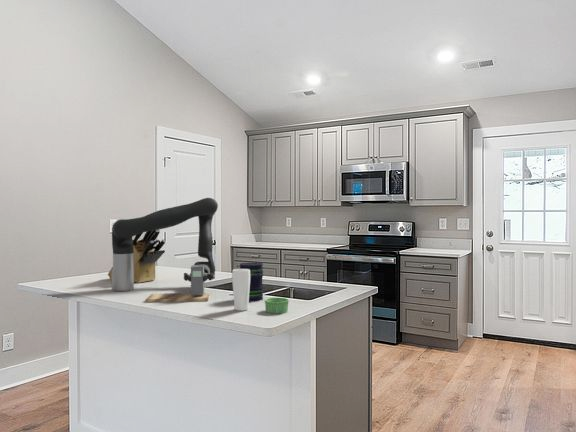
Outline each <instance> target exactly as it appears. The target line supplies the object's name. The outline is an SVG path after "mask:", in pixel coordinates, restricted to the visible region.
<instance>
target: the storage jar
mask: <svg viewBox="0 0 576 432" xmlns="http://www.w3.org/2000/svg"><path fill="white" fill-rule="evenodd" d="M263 265H264V264H263V263H262V262H241V263H239V269H250V291H249V301H254V302H260V300H261V301H263V300H264V298H263V297H264V285H263V277H264V270H263V269H264V267H263Z"/></svg>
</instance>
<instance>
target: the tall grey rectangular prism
mask: <svg viewBox="0 0 576 432" xmlns="http://www.w3.org/2000/svg"><path fill="white" fill-rule="evenodd" d="M190 273H191V282H190V293H191V295H203V294H204V293H205V282H204V281H203V276H204V265H194V264H193V265H191V266H190Z"/></svg>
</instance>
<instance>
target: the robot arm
mask: <svg viewBox="0 0 576 432" xmlns="http://www.w3.org/2000/svg"><path fill="white" fill-rule="evenodd" d="M218 206H219V205H218V201H217V200H215V199H214V198H211V197H205V198H202V199H199V200H197V201H194V202H191V203H186V204H182V205H177V206H172V207H167V208H164V209H163V208H162V209H159V210H156V211H154V212H151V213H148V214H146V215H144V216H141V217H140V216H139V217H136V218H129V219H127V218H125V219H124V218H123V219H122V218H121V219H118V220H115V222H113V224H112V228H111V247H112V248H111V249H112V267H113V270H112V279H111V291H112V292H113V291H115V292H125V291H133V290H134V287H135V285H134V284H135V282H134V248H133V241H132V240H133V237H135V236H136V235H138V234H141V233H146V232H147V231H153V230H163V229H168V228H172V227H175V226H178V225H181V224H183V223H185V222H187V221H188V220H190V219H192V218H196V217H198V247H197V256H198V257H199V258H202V259H206V260H207V261H196V262H194V264H193V265H204V276H203V281H204V283H205V282H206V281H212V280H214V279H215V278H216V266H215V261H214V258H213V247H214V246H213V243H214V241H213V233H212V223H213V217H214V215H215V214H216V212H217V210H218V209H219V208H218ZM183 280H184V281H185V282H187V281H189V282H190V283H191V272H190V273H187V272H184V273H183Z"/></svg>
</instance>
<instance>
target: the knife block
mask: <svg viewBox="0 0 576 432" xmlns="http://www.w3.org/2000/svg"><path fill="white" fill-rule="evenodd" d="M143 233H144V236H143ZM143 233H141V234H138V235H135V236H134V237H133V239H132V241H133V248H134V283H137V284H141V283H143V282H151V281H155V280H156V262H157V261H158V260H159V259H160V258H161V257H162V255H163V254H165V252H166V249H165V250H161V249H162V248H163V246H164V245H165V244H166V239H165V238H164V239H161V240H159V239H157V238H158V236H159V235H160V233H161V229H159V230H153V231H147V232H143ZM141 236H143V238H141ZM140 238H141V239H140ZM112 270H113V266H111V268H110V270H109V271H108V273H107V276H108V278H109V279H110V280H112Z"/></svg>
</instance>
